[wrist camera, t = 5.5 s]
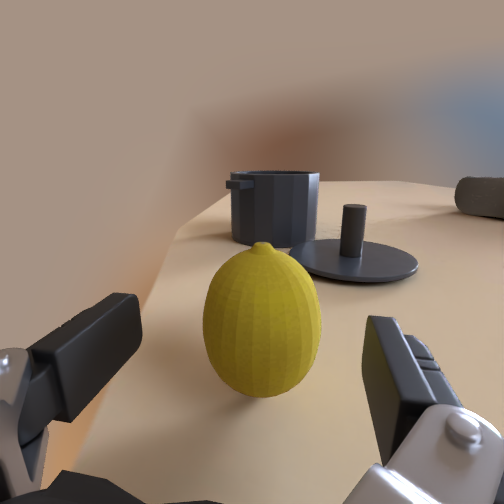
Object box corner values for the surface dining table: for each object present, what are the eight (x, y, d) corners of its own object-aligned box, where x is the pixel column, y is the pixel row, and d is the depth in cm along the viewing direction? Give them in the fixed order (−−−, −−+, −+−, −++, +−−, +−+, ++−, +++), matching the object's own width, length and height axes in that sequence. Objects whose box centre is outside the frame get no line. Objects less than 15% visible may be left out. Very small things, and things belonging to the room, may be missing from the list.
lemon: (263, 465, 12) (265, 275, 10) (185, 391, 16) (173, 242, 13) (336, 392, 16) (352, 242, 13) (259, 346, 19) (260, 223, 17)
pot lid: (265, 267, 33) (266, 207, 31) (321, 241, 44) (324, 195, 42) (397, 302, 25) (409, 224, 23) (428, 260, 35) (438, 204, 33)
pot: (201, 241, 44) (197, 173, 41) (272, 221, 57) (273, 169, 54) (273, 259, 36) (275, 177, 33) (336, 231, 49) (341, 171, 47)
